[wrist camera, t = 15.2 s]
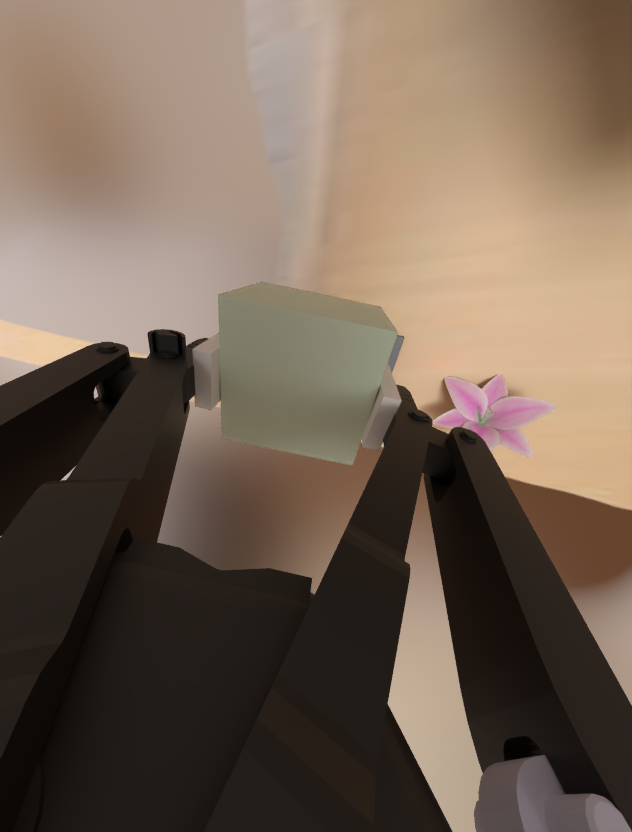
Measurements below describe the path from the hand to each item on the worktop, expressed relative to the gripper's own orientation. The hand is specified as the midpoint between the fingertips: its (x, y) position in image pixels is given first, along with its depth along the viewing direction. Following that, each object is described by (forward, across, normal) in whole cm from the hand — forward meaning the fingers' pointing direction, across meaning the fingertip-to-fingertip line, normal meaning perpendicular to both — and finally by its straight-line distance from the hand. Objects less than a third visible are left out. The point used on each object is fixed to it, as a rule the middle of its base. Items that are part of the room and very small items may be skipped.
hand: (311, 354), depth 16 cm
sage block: (0, 0, 0) cm, 0 cm away
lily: (+18, +22, -7) cm, 30 cm away
